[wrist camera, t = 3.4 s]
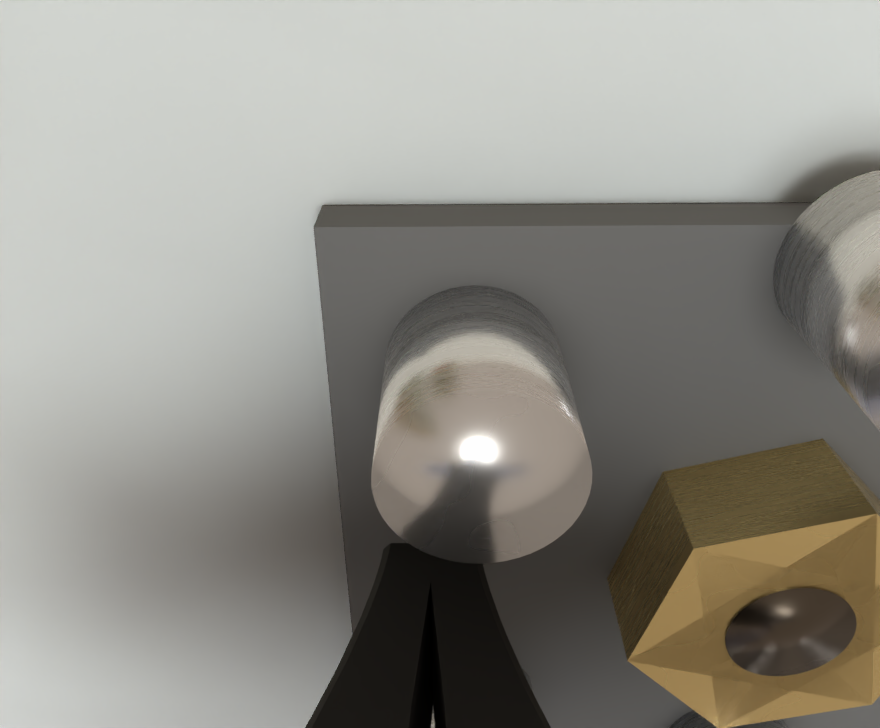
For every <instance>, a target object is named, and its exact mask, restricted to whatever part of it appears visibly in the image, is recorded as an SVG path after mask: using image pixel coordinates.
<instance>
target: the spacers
mask: <svg viewBox="0 0 880 728" xmlns="http://www.w3.org/2000/svg"><path fill="white" fill-rule="evenodd" d="M773 288H774V295H775V299H776V302H777V305H778V307H779V309H780V311H781V313H782V315H783V316H784V317H785V319H786V320H787V321H788V323H789V324H790V325H791V326H792V327H793V329H794V330H795V331H796V332H797V333H798V334H799V336H800V337H801V338H802V339H803V340H804V342H805V343H806V344H807V345H808V346H809V348H810V349H811V350H812V351H813V352H814V354H815V355H816V356H817V357H818V358H819V359H820V361H821V362H822V363H823V364H824V365H825V367H826V368H827V369H828V370H829V371H830V373H831V374H832V375H833V376H834V377H835V379H836V380H837V381H838V382H839V383H840V385H841V386H842V387H843V388H844V389H845V390H846V392H847V393H848V394H849V395H850V396H851V398H852V399H853V400H854V401H855V402H856V404H857V405H858V406H859V407H860V408H861V410H862V411H863V412H864V413H865V414H866V415H867V417H868V418H869V419H870V420H871V421H872V423H873V424H874V425H875V426H876V427H877V429H878V430H879V431H880V170H877V171H872V172H868V173H865V174H862V175H859V176H856V177H854V178H851V179H849V180H847V181H845V182H843V183H841V184H839V185H837V186H836V187H834V188H832V189H831V190H829V191H828V192H826V193H825V194H823V195H822V196H821V197H819V198H818V199H817V200H816V201H815V202H813V203H812V204H811V205H810V206H809V207H808V208H807V209H806V210H805V211H804V212H803V213H802V214H801V215H800V216H799V218H798V219H797V220H796V222H795V223H794V224H793V226H792V227H791V228H790V230H789V232H788V233H787V235H786V237H785V238H784V240H783V242H782V245H781V247H780V249H779V251H778V255H777V258H776V261H775V266H774V272H773ZM591 485H592V465H591V459H590V455H589V452H588V448H587V444H586V441H585V437H584V433H583V430H582V426H581V422H580V419H579V415H578V411H577V408H576V404H575V400H574V397H573V393H572V389H571V386H570V382H569V378H568V375H567V371H566V367H565V364H564V360H563V356H562V353H561V349H560V345H559V342H558V339H557V335H556V333H555V331H554V329H553V327H552V325H551V324H550V322H549V321H548V319H547V318H546V317H545V316H544V315H543V314H542V312H541V311H540V310H539V309H538V308H536V307H535V306H534V305H533V304H532V303H530V302H529V301H527V300H525V299H524V298H522V297H521V296H518V295H516V294H514V293H512V292H509V291H506V290H503V289H500V288H495V287H489V286H475V285H474V286H461V287H456V288H450V289H447V290H444V291H441V292H438V293H436V294H434V295H431V296H429V297H427V298H426V299H424V300H422V301H421V302H419V303H418V304H416V305H415V306H414V307H413V308H412V309H410V310H409V311H408V312H407V313H406V314H405V315H404V316H403V318H402V319H401V320H400V322H399V323H398V324H397V326H396V327H395V329H394V331H393V333H392V335H391V337H390V340H389V343H388V346H387V351H386V357H385V366H384V374H383V382H382V390H381V398H380V407H379V415H378V423H377V431H376V439H375V448H374V456H373V464H372V472H371V486H372V493H373V497H374V500H375V503H376V506H377V508H378V510H379V512H380V514H381V516H382V517H383V519H384V520H385V522H386V523H387V524H388V526H389V527H390V528H391V529H392V530H393V531H394V532H395V533H396V534H397V535H398V536H399V537H401V538H402V539H403V540H404V541H406V542H407V543H409V544H410V545H412V546H414V547H415V548H417V549H419V550H421V551H423V552H425V553H427V554H430V555H433V556H436V557H438V558H442V559H446V560H450V561H455V562H463V563H478V564H480V563H495V562H502V561H508V560H512V559H516V558H520V557H522V556H525V555H528V554H531V553H533V552H535V551H537V550H539V549H541V548H544V547H545V546H547V545H548V544H550V543H552V542H553V541H555V540H556V539H557V538H559V537H560V536H561V535H562V534H564V533H565V532H566V531H567V530H568V529H569V528H570V527H571V526H572V525H573V523H574V522H575V521H576V519H577V518H578V517H579V516H580V514H581V512H582V510H583V509H584V507H585V505H586V503H587V500H588V497H589V495H590V490H591ZM520 666H521V665H520ZM521 669H522V671H523V673H524V675H525V677H526V679H527V681H528V683H529V686H530V688H531V690H532V684H531V680H530V678H529V675H528V674H527V672H526V671H525V670H524V669H523V668H522V666H521ZM532 692H533V690H532ZM431 728H435V722H434V710H432V721H431ZM669 728H717V727H716V726H714V725H713V724H712V723H710V722H709V721H708V720H706V719H705V718H704V717H702V716H701V715H700V714H698V713H697V712H696V711H694V710H692V711H690V712H688V713H686V714H685V715H683V716H681V717H680V718H679V719H677V720H676V721H675V722H674V723H673V724H672V725H670V727H669ZM729 728H787V725H786V723H785V721H784V719H779V720H773V721H766V722H760V723H754V724H747V725H741V726H735V727H729Z"/></svg>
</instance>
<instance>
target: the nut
mask: <svg viewBox="0 0 880 728" xmlns="http://www.w3.org/2000/svg"><path fill="white" fill-rule="evenodd" d="M607 580H608V584H609V588H610V592H611V596H612V600H613V604H614V608H615V612H616V616H617V620H618V624H619V628H620V632H621V636H622V640H623V644H624V649H625V653H626V657H627V661H628V662H630V663H631V664H632V665H634V666H635V667H636V668H638V669H639V670H640V671H642V672H643V673H644V674H646V675H647V676H648V677H650V678H651V679H653V680H654V681H655V682H657V683H658V684H659V685H661V686H662V687H663V688H665V689H666V690H667V691H669V692H670V693H671V694H673V695H674V696H675V697H677V698H678V699H679V700H681V701H682V702H683V703H685V704H686V705H687V706H689V707H690V708H691V709H693V710H694V711H696V712H697V713H698V714H700V715H701V716H702V717H704V718H705V719H706V720H708V721H709V722H710V723H712V724H713V725H714V726H716V727H717V728H729V727H735V726H741V725H747V724H754V723H760V722H766V721H773V720H779V719H785V718H791V717H798V716H804V715H810V714H816V713H823V712H829V711H835V710H841V709H848V708H854V707H860V706H867V705H872V704H873V703H874V702H875V701H876V700H877V698H878V697H879V696H880V499H879V498H878V497H877V496H876V495H875V494H874V493H873V492H872V491H871V490H870V489H869V488H868V486H867V485H866V484H865V483H864V482H863V481H862V480H861V479H860V478H859V477H858V476H857V475H856V474H855V473H854V471H853V470H852V469H851V468H850V467H849V466H848V465H847V464H846V463H845V462H844V461H843V460H842V459H841V458H840V456H839V455H838V454H837V453H836V452H835V451H834V450H833V449H832V448H831V447H830V446H829V445H828V444H827V443H826V441H825V440H824V439H819V440H814V441H809V442H804V443H799V444H794V445H790V446H785V447H780V448H775V449H770V450H765V451H760V452H756V453H751V454H746V455H741V456H736V457H731V458H727V459H722V460H717V461H712V462H707V463H702V464H698V465H693V466H688V467H683V468H678V469H673V470H669V471H664V472H663V473H662V475H661V477H660V478H659V480H658V482H657V484H656V486H655V488H654V490H653V492H652V494H651V496H650V498H649V499H648V501H647V503H646V505H645V507H644V509H643V511H642V513H641V515H640V517H639V519H638V520H637V522H636V524H635V526H634V528H633V530H632V532H631V534H630V536H629V538H628V540H627V541H626V543H625V545H624V547H623V549H622V551H621V553H620V555H619V557H618V559H617V561H616V562H615V564H614V566H613V568H612V570H611V572H610V574H609V576H608V578H607Z"/></svg>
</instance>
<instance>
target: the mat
mask: <svg viewBox="0 0 880 728" xmlns="http://www.w3.org/2000/svg"><path fill="white" fill-rule="evenodd" d="M811 204H812V203H698V204H517V205H336V206H322V208H321V210H320V213H319V215H318V218H317V220H316V223H315V225H314V235H315V245H316V256H317V266H318V277H319V287H320V298H321V308H322V319H323V329H324V340H325V350H326V361H327V371H328V382H329V392H330V403H331V413H332V424H333V434H334V445H335V455H336V465H337V476H338V486H339V497H340V507H341V518H342V528H343V539H344V549H345V560H346V570H347V581H348V591H349V602H350V612H351V623H352V633H354V631H355V629H356V627H357V624H358V622H359V620H360V618H361V615H362V613H363V610H364V608H365V605H366V603H367V600H368V598H369V595H370V592H371V590H372V587H373V584H374V581H375V578H376V575H377V572H378V569H379V565H380V562H381V558H382V553H383V549H384V548H385V547H386V546H388V545H389V544H390V543H407V542H406V541H404V540H403V539H402V538H401V537H399V536H398V535H397V534H396V533H395V532H394V531H393V530H392V529H391V528H390V527H389V526H388V524H387V523H386V522H385V520H384V519H383V517H382V516H381V514H380V512H379V510H378V508H377V506H376V503H375V500H374V497H373V493H372V486H371V472H372V464H373V456H374V448H375V439H376V431H377V423H378V415H379V407H380V398H381V390H382V382H383V374H384V366H385V357H386V351H387V346H388V343H389V340H390V337H391V335H392V333H393V331H394V329H395V327H396V326H397V324H398V323H399V322H400V320H401V319H402V318H403V316H404V315H405V314H406V313H407V312H408V311H409V310H410V309H412V308H413V307H414V306H415V305H416V304H418V303H419V302H421V301H422V300H424V299H426V298H427V297H429V296H431V295H434V294H436V293H438V292H441V291H444V290H447V289H450V288H456V287H461V286H474V285H475V286H489V287H495V288H500V289H503V290H506V291H509V292H512V293H514V294H516V295H518V296H521V297H522V298H524V299H525V300H527V301H529V302H530V303H532V304H533V305H534V306H535V307H536V308H538V309H539V310H540V311H541V312H542V314H543V315H544V316H545V317H546V318H547V319H548V321H549V322H550V324H551V325H552V327H553V329H554V331H555V333H556V335H557V339H558V342H559V345H560V349H561V353H562V356H563V360H564V364H565V367H566V371H567V375H568V378H569V382H570V386H571V389H572V393H573V397H574V400H575V404H576V408H577V411H578V415H579V419H580V422H581V426H582V430H583V433H584V437H585V441H586V444H587V448H588V452H589V455H590V459H591V465H592V485H591V490H590V495H589V497H588V500H587V503H586V505H585V507H584V509H583V510H582V512H581V514H580V516H579V517H578V518H577V519H576V521H575V522H574V523H573V525H572V526H571V527H570V528H569V529H568V530H567V531H566V532H565V533H564V534H562V535H561V536H560V537H559V538H557V539H556V540H555V541H553V542H552V543H550V544H548V545H547V546H545V547H544V548H541V549H539V550H537V551H535V552H533V553H531V554H528V555H525V556H522V557H520V558H516V559H512V560H508V561H502V562H495V563H483V567H484V571H485V575H486V578H487V582H488V585H489V588H490V591H491V594H492V597H493V600H494V603H495V606H496V609H497V611H498V614H499V617H500V619H501V622H502V624H503V627H504V629H505V632H506V634H507V637H508V639H509V641H510V644H511V646H512V648H513V650H514V653H515V655H516V657H517V660H518V662H519V664H520V665H521V666H522V668H523V669H524V670H525V671H526V672H527V674H528V675H529V678H530V680H531V684H532V690H533V694H534V696H535V698H536V700H537V702H538V704H539V706H540V707H541V709H542V711H543V713H544V715H545V717H546V719H547V721H548V723H549V725H550V727H551V728H669V727H670V725H672V724H673V723H674V722H675V721H676V720H677V719H679V718H680V717H681V716H683V715H685V714H686V713H688V712H690V711H692V710H693V709H691V708H690V707H689V706H687V705H686V704H685V703H683V702H682V701H681V700H679V699H678V698H677V697H675V696H674V695H673V694H671V693H670V692H669V691H667V690H666V689H665V688H663V687H662V686H661V685H659V684H658V683H657V682H655V681H654V680H653V679H651V678H650V677H648V676H647V675H646V674H644V673H643V672H642V671H640V670H639V669H638V668H636V667H635V666H634V665H632V664H631V663H630V662H628V661H627V657H626V653H625V649H624V644H623V640H622V636H621V632H620V628H619V624H618V620H617V616H616V612H615V608H614V604H613V600H612V596H611V592H610V588H609V584H608V580H607V578H608V576H609V574H610V572H611V570H612V568H613V566H614V564H615V562H616V561H617V559H618V557H619V555H620V553H621V551H622V549H623V547H624V545H625V543H626V541H627V540H628V538H629V536H630V534H631V532H632V530H633V528H634V526H635V524H636V522H637V520H638V519H639V517H640V515H641V513H642V511H643V509H644V507H645V505H646V503H647V501H648V499H649V498H650V496H651V494H652V492H653V490H654V488H655V486H656V484H657V482H658V480H659V478H660V477H661V475H662V473H663V472H664V471H669V470H673V469H678V468H683V467H688V466H693V465H698V464H702V463H707V462H712V461H717V460H722V459H727V458H731V457H736V456H741V455H746V454H751V453H756V452H760V451H765V450H770V449H775V448H780V447H785V446H790V445H794V444H799V443H804V442H809V441H814V440H819V439H824V440H825V441H826V443H827V444H828V445H829V446H830V447H831V448H832V449H833V450H834V451H835V452H836V453H837V454H838V455H839V456H840V458H841V459H842V460H843V461H844V462H845V463H846V464H847V465H848V466H849V467H850V468H851V469H852V470H853V471H854V473H855V474H856V475H857V476H858V477H859V478H860V479H861V480H862V481H863V482H864V483H865V484H866V485H867V486H868V488H869V489H870V490H871V491H872V492H873V493H874V494H875V495H876V496H877V497H878V498H879V499H880V431H879V430H878V429H877V427H876V426H875V425H874V424H873V423H872V421H871V420H870V419H869V418H868V417H867V415H866V414H865V413H864V412H863V411H862V410H861V408H860V407H859V406H858V405H857V404H856V402H855V401H854V400H853V399H852V398H851V396H850V395H849V394H848V393H847V392H846V390H845V389H844V388H843V387H842V386H841V385H840V383H839V382H838V381H837V380H836V379H835V377H834V376H833V375H832V374H831V373H830V371H829V370H828V369H827V368H826V367H825V365H824V364H823V363H822V362H821V361H820V359H819V358H818V357H817V356H816V355H815V354H814V352H813V351H812V350H811V349H810V348H809V346H808V345H807V344H806V343H805V342H804V340H803V339H802V338H801V337H800V336H799V334H798V333H797V332H796V331H795V330H794V329H793V327H792V326H791V325H790V324H789V323H788V321H787V320H786V319H785V317H784V316H783V315H782V313H781V311H780V309H779V307H778V305H777V302H776V299H775V295H774V288H773V272H774V266H775V261H776V258H777V255H778V251H779V249H780V247H781V245H782V242H783V240H784V238H785V237H786V235H787V233H788V232H789V230H790V228H791V227H792V226H793V224H794V223H795V222H796V220H797V219H798V218H799V216H800V215H801V214H802V213H803V212H804V211H805V210H806V209H807V208H808V207H809V206H810V205H811ZM784 721H785V723H786V725H787V728H880V696H879V697H878V698H877V700H876V701H875V702H874V703H873V704H872V705H867V706H860V707H854V708H848V709H841V710H835V711H829V712H823V713H816V714H810V715H804V716H798V717H791V718H785V719H784Z"/></svg>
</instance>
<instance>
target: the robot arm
mask: <svg viewBox="0 0 880 728" xmlns="http://www.w3.org/2000/svg"><path fill="white" fill-rule="evenodd" d="M432 710H434V722H435V728H551V727H550V725H549V723H548V721H547V719H546V717H545V715H544V713H543V711H542V709H541V707H540V706H539V704H538V702H537V700H536V698H535V696H534V694H533V692H532V690H531V688H530V686H529V683H528V681H527V679H526V677H525V675H524V673H523V671H522V669H521V666H520V664H519V662H518V660H517V657H516V655H515V653H514V650H513V648H512V646H511V644H510V641H509V639H508V637H507V634H506V632H505V629H504V627H503V624H502V622H501V619H500V617H499V614H498V611H497V609H496V606H495V603H494V600H493V597H492V594H491V591H490V588H489V585H488V582H487V578H486V575H485V571H484V567H483V563H480V564H478V563H463V562H455V561H450V560H446V559H442V558H438V557H436V556H433V555H430V554H427V553H425V552H423V551H421V550H419V549H417V548H415V547H414V546H412V545H410V544H409V543H390V544H389V545H388V546H386V547H385V548H384V549H383V553H382V558H381V562H380V565H379V569H378V572H377V575H376V578H375V581H374V584H373V587H372V590H371V592H370V595H369V598H368V600H367V603H366V605H365V608H364V610H363V613H362V615H361V618H360V620H359V622H358V624H357V627H356V629H355V631H354V633H353V635H352V638H351V640H350V642H349V644H348V646H347V648H346V651H345V653H344V655H343V657H342V659H341V662H340V664H339V666H338V668H337V670H336V672H335V674H334V676H333V677H332V679H331V681H330V683H329V685H328V687H327V689H326V690H325V692H324V694H323V696H322V698H321V700H320V702H319V704H318V705H317V707H316V709H315V711H314V713H313V715H312V717H311V719H310V720H309V722H308V724H307V726H306V727H305V728H431V721H432Z"/></svg>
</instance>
